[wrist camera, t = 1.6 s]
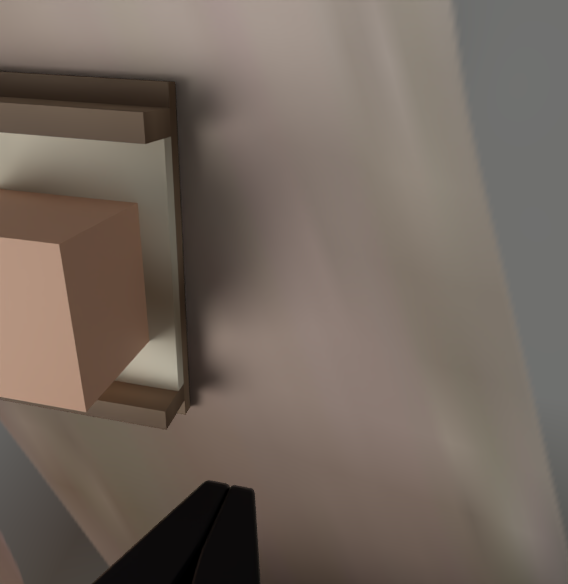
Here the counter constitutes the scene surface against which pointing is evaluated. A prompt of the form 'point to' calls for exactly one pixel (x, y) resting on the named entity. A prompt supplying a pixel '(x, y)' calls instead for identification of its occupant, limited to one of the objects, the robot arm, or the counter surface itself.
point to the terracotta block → (68, 296)
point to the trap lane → (118, 187)
